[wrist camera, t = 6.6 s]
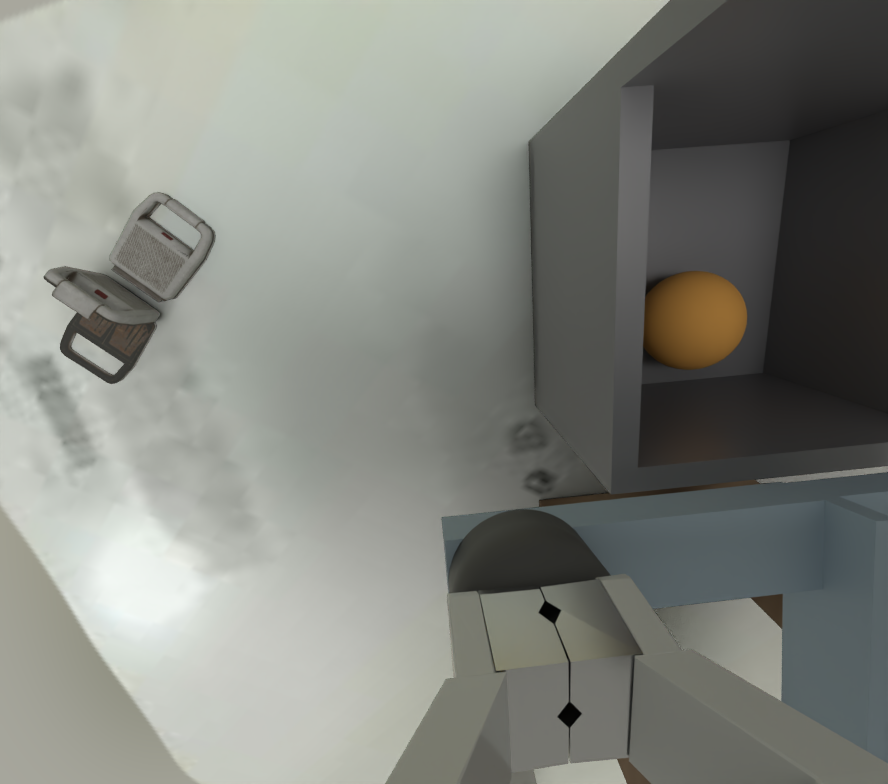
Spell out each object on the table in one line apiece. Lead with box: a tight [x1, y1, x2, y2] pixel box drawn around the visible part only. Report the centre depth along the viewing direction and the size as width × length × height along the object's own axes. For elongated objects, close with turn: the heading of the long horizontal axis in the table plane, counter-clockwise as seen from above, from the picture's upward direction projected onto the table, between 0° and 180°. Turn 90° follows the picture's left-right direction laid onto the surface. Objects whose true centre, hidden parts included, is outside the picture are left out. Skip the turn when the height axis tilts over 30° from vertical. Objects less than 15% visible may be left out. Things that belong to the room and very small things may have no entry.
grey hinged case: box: [44, 192, 215, 384], centre depth 18 cm, size 8×3×4 cm, turn 141°
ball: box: [643, 271, 747, 370], centre depth 19 cm, size 4×4×4 cm
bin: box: [529, 0, 888, 495], centre depth 14 cm, size 12×12×16 cm
